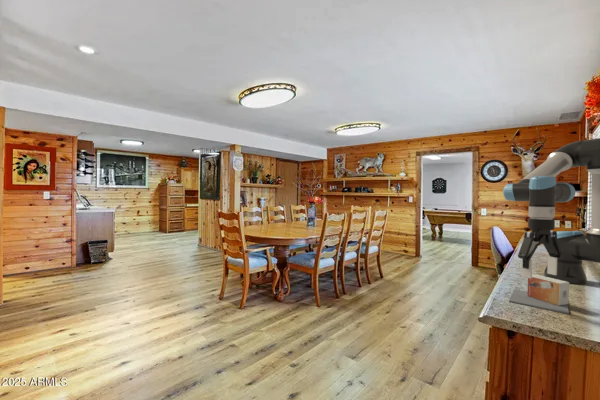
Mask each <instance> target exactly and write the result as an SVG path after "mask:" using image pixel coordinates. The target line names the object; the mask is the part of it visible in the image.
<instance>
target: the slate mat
mask: <svg viewBox="0 0 600 400" xmlns="http://www.w3.org/2000/svg"><path fill="white" fill-rule="evenodd" d="M508 302H509V303H514V304H518V305H523V306H527V307H531V308H532V307H533V308H538V309H541V310H546V311H552V312H557V313H562V314H566V315H569V313H570V312H569V304H566V305H559V306H558V305H555V304H551V303H548V302H545V301H542V300H539V299H536V298H532V297H529V296H527V291H525V290H520V289H515V288H514V289H513V291H512V293H511V295H510V297H509V300H508Z"/></svg>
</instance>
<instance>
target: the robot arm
mask: <svg viewBox="0 0 600 400" xmlns="http://www.w3.org/2000/svg"><path fill="white" fill-rule="evenodd" d="M576 167H577V168H578V167H586V171H587V172H588V173H590V174H591V185H590V186H591V187H590V188H591V192H590V193H591V194H590V195H591V196H590V197H591V203H590V204H591V207H590V209H591V211H590V213H591V215H590V217H591V220H590V221H591V222H590V225H591V226H590V229H588V230H586V234H584V231H582V230H565V231H564V230H560V231H559V230H558V231H556V230H555V228H556V221H555V217H556V215H555V214H556V203H562V204H563V203H566V202H569V201H572V200H573V199H574V197H575V196H576V189H575V187H574V185H571V184H570V183H567V182H564V181H563V182H562V181H561V182H557V178H556V177H557V176H558V175H560V173H562V172H564V171H565V172H566V171H568V170H569V169H571V168H576ZM502 193H503V194H502V195H503V197H504V199H505V200H506V201H510V202H528V213H527V215H528V217H529V218H528V221H527V222H528V225H527V228H528V229H530V230H531V231H524V236H523V237H524V238H523V240H522V243H521V246H520V248H519V252H518V254H517V257H518V258H519V259H522V278H523V277H524V278H527V279H528V278H532V275H533V260H532V257H533V256H534V254H535V252H536V251H537V248H538V247H539V246H541V245H543V246H544V248H545V250H546V252H547V253H548V256H547V265H546V267H545V268H544V271H543V276H545V277H549V278H553V279H557V280H562V281H566V282H569V284H576V285H578V284H579V285H584V284H587V282H588V278H587V275H586V272H585V269H584V267H583V261H586V262H591V263H598V264H600V137H598V138H593V139H584V140H577V141H573V142H571V143H568V144H565V145H563V146H561V147H559V148H557V149H556V150H553V152H552V153H550V154H549V155H548V156H547V158H546V160H545V161H544V162H543V163H540V165H538V166H537V167H536V168H535V169H533V170H532V171H531V172H529V173H528V174H527V175H526V176H524V177H523V178H522V179H521V180H519V181H518V182H515V183H514V182H513V183H507V184H506V185H505V186H504V187H503V190H502Z"/></svg>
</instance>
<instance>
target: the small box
mask: <svg viewBox="0 0 600 400" xmlns="http://www.w3.org/2000/svg"><path fill="white" fill-rule="evenodd" d="M526 292H527V296H529V297H532V298H536V299H539V300H542V301H545V302H548V303H551V304H555V305H558V306H559V305H566V304H568V305H569V304H570V303H569V300H570V283H569V282H566V281H562V280H557V279H553V278H549V277H545V276H544V275H540V274H532V278H527V291H526Z"/></svg>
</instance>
